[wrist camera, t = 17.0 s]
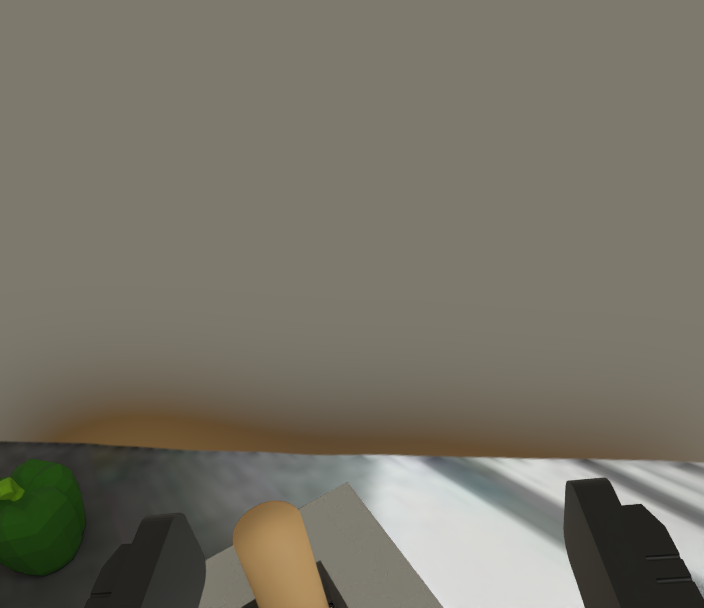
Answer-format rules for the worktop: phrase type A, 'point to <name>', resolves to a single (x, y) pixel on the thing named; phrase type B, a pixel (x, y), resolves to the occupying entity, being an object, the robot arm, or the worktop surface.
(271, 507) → the pin
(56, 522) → the bell pepper
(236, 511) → the worktop surface
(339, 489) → the grey flat block
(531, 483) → the worktop surface
